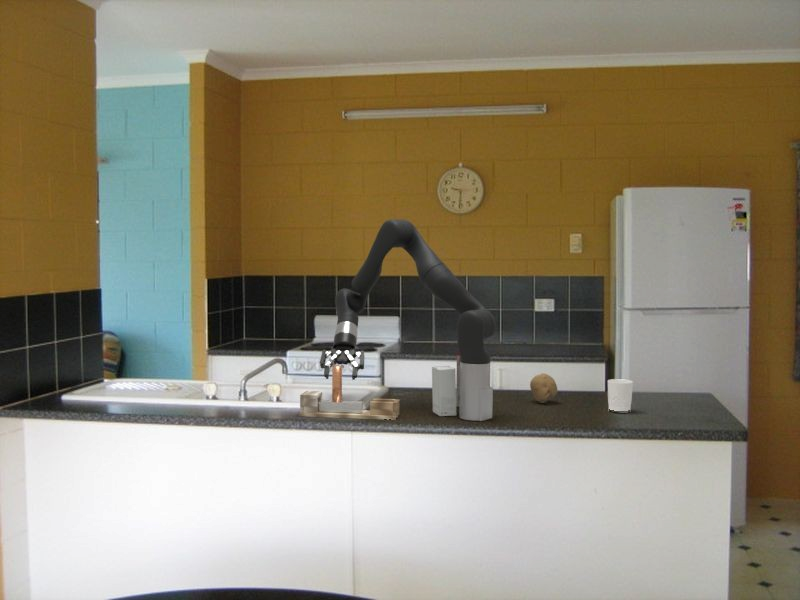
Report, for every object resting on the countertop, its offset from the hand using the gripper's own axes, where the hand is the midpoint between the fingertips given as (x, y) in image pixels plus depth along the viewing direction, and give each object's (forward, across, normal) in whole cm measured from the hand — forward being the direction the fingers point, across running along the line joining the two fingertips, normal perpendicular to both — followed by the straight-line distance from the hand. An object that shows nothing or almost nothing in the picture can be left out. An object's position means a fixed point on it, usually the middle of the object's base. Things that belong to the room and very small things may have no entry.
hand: (340, 377), depth 259 cm
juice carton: (-1, +42, +16) cm, 45 cm away
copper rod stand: (+12, 0, +1) cm, 12 cm away
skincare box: (+9, +33, +6) cm, 35 cm away
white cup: (+2, +90, +13) cm, 91 cm away
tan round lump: (-7, +67, +22) cm, 71 cm away
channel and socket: (+13, +4, +1) cm, 14 cm away
